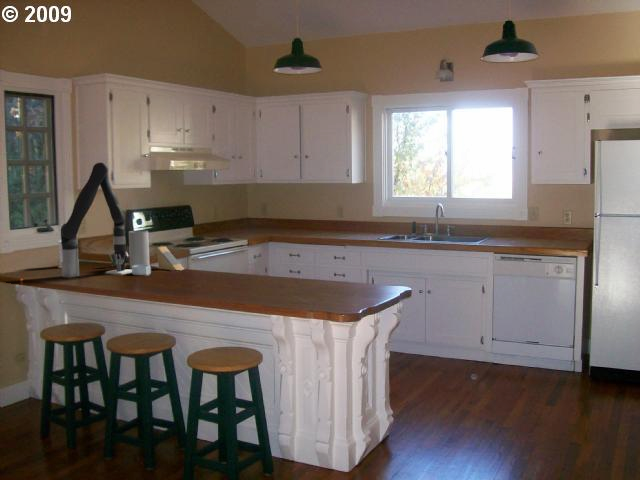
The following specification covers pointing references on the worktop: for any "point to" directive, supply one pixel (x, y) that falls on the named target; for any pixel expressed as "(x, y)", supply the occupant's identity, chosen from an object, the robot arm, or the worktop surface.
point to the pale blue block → (141, 270)
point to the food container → (113, 262)
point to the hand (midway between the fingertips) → (120, 269)
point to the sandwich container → (167, 260)
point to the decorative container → (60, 254)
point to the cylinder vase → (138, 248)
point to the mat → (116, 274)
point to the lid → (119, 270)
